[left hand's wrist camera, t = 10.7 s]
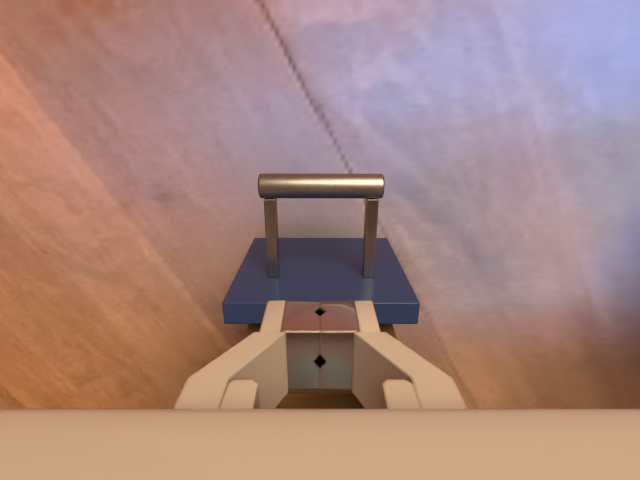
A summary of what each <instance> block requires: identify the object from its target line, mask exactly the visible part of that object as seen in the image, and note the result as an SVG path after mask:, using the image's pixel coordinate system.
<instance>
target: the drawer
mask: <svg viewBox="0 0 640 480" xmlns="http://www.w3.org/2000/svg"><path fill="white" fill-rule="evenodd" d="M258 192H259V196H260V198H265V199H264V213H265V231H266V238H255V239H254V241H253V243H252V245H251V247H250V249H249V251H248V253H247V255H246V257H245V259H244V261H243V263H242V265H241V267H240V269H239V271H238V273H237V275H236V277H235V279H234V281H233V283H232V285H231V287H230V289H229V291H228V293H227V295H226V297H225V299H224V301H223V303H222V306H223V315H224V323H225V324H249V326H248V329H247V332H246V335H245V338H246V337H248V336H249V335H251V334H252V333H254V332H259V331H260V327H261V324H262V320H263V316H264V313H265V309H266V305H267V302H268V301H269V300H285V301H287V300H290V301H359V300H371V301H372V302H373V306H374V309H375V313H376V317H377V320H378V324H379V327H380V331H381V332H386V333H388V334H389V335H391V336H392V337H394V338H395V339H397V337H396V334H395V330H394V327H393V324H417V323H418V315H419V306H420V303H419V301H418V299H417V297H416V295H415V293H414V291H413V289H412V287H411V285H410V283H409V281H408V279H407V277H406V275H405V273H404V271H403V269H402V267H401V265H400V263H399V261H398V259H397V257H396V255H395V253H394V251H393V249H392V247H391V245H390V243H389V241H388V240H387V238H376V234H377V218H378V201H379V200H378V198H382V197H383V194H384V176H383V174H259V177H258ZM277 198H365V219H364V238H278V217H277ZM245 338H244V339H245ZM275 409H365V408H364V407H363V405H362V404H361V403H360V402H359V400H358V399H357V398H356V397H355V395H354V394H353V393H352V390H288V393H287V395H286V396H285V397H284V398H283V399H282V401H281V402H280V403H279V404H278V406H277V407H276V408H275Z"/></svg>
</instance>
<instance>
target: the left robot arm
mask: <svg viewBox="0 0 640 480" xmlns="http://www.w3.org/2000/svg"><path fill="white" fill-rule="evenodd" d="M288 390H352V393H353V394H354V395H355V397H356V398H357V399H358V400H359V402H360V403H361V404H362V405H363V407H364V408H365V409H275V408H276V407H277V406H278V404H279V403H280V402H281V401H282V399H283V398H284V397H285V396H286V395H287V393H288ZM0 480H640V409H467V407H466V405H465V402H464V400H463V398H462V396H461V394H460V392H459V390H458V388H457V386H456V384H455V382H454V380H453V378H451V377H450V376H449V375H447V374H446V373H444V372H443V371H441V370H440V369H438V368H437V367H436V366H434V365H433V364H431V363H430V362H428V361H427V360H425V359H424V358H423V357H421V356H420V355H418V354H417V353H415V352H414V351H412V350H411V349H410V348H408V347H407V346H405V345H404V344H402V343H401V342H399V341H398V340H397V339H395V338H394V337H392V336H391V335H389V334H388V333H386V332H381V331H380V327H379V324H378V320H377V317H376V313H375V309H374V306H373V302H372V301H371V300H359V301H290V300H287V301H285V300H269V301H268V302H267V305H266V309H265V313H264V316H263V320H262V324H261V327H260V331H259V332H254V333H252V334H251V335H249V336H248V337H246V338H245V339H243V340H242V341H241V342H239V343H238V344H236V345H235V346H233V347H232V348H230V349H229V350H227V351H226V352H225V353H223V354H222V355H220V356H219V357H217V358H216V359H214V360H213V361H211V362H210V363H209V364H207V365H206V366H204V367H203V368H201V369H200V370H198V371H197V372H196V373H194V374H193V375H191V376H190V377H188V378H187V380H186V382H185V384H184V386H183V388H182V390H181V392H180V394H179V396H178V398H177V401H176V403H175V405H174V407H173V409H0Z"/></svg>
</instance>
